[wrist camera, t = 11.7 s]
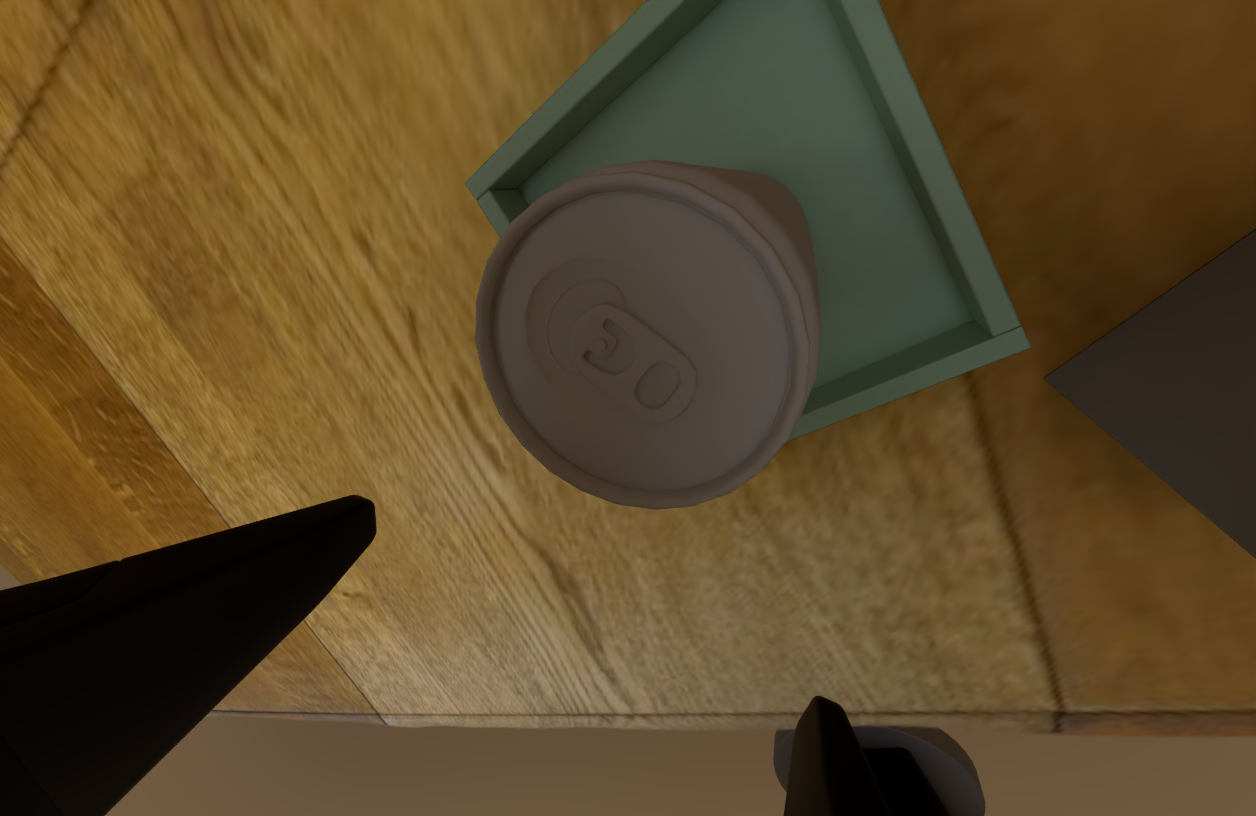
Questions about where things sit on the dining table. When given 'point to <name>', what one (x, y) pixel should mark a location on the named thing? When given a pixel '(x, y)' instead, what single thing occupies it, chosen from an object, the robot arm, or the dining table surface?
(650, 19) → the tray
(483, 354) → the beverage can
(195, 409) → the dining table surface
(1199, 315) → the perfume bottle
